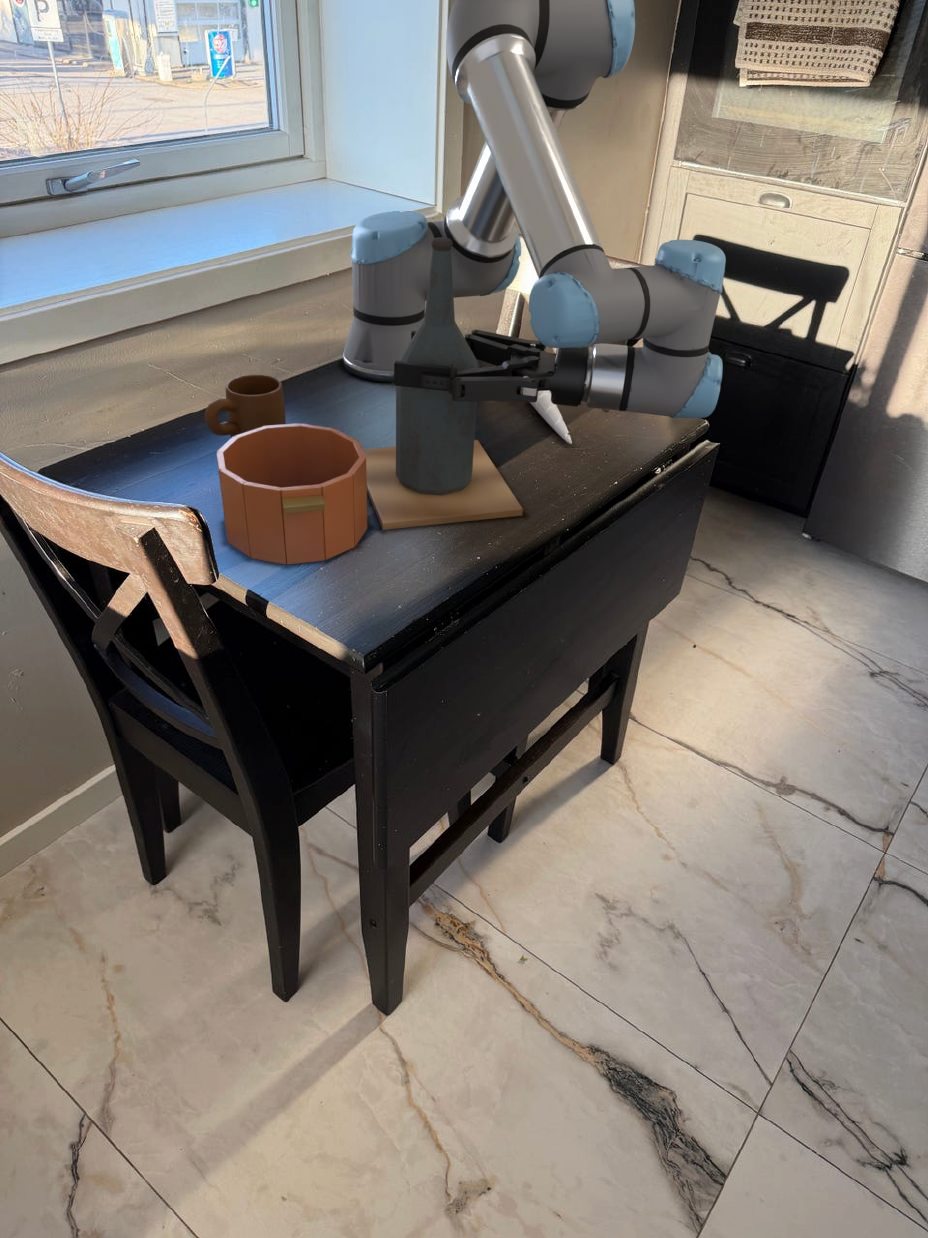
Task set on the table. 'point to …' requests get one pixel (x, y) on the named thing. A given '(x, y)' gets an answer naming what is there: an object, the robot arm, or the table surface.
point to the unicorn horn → (551, 414)
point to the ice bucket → (293, 492)
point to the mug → (247, 405)
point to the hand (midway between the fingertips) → (403, 356)
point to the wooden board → (414, 509)
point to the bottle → (436, 395)
